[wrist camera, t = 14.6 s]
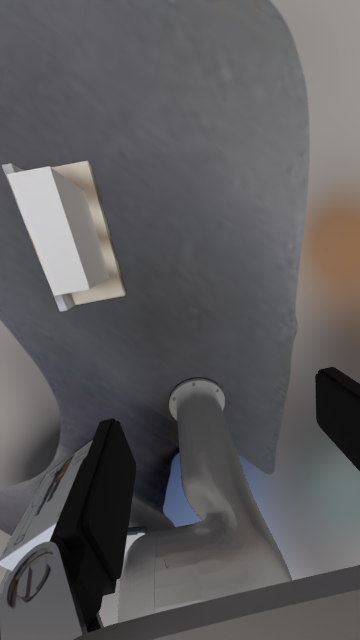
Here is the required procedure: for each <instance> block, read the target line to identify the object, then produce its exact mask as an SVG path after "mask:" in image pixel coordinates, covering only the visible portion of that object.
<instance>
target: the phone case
mask: <svg viewBox="0 0 360 640" xmlns="http://www.w3.org/2000/svg"><path fill="white" fill-rule="evenodd" d="M145 534H147V528H146V527H133V528H128V533H127V540H126V547H125V554H124V559H125V556H126V554H127V551H128V549H129V548H130V546H131V545H132V543H133V542H134V541H135V540H136V539H137V538H139V537H140V536H142V535H145Z"/></svg>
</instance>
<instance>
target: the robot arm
mask: <svg viewBox="0 0 360 640" xmlns="http://www.w3.org/2000/svg"><path fill="white" fill-rule="evenodd" d="M315 378H316V419H317V423H318V424H319V426H320V428H321V429H322V430H323V431H324V432H325V433H326V434H327V435H328V437H329V438H330V439H331V440H332V441H333V442H334V443H335V444H336V446H337V447H338V448H339V449H340V450H341V451H342V452H343V453H344V454H345V455H346V457H347V458H348V459H349V460H350V461H351V462H352V463H353V464H354V465H355V466H356V468H357V469H358V470H359V471H360V384H359V383H357V382H356V381H354V380H353V379H351V378H350V377H348V376H347V375H345V374H344V373H342V372H341V371H339V370H338V369H336V368H334V367H330V368H325V369H321V370H319V371H318V374H316V377H315ZM224 406H225V397H224V394H223V391H222V389H221V388H220V387H219V386H218V385H217V384H216V383H215V382H213V381H211V380H208V379H203V378H195V379H190V380H187V381H184V382H183V383H181V384H179V385H178V386H177V387H176V388H175V389H174V390H173V392H172V393H171V395H170V398H169V409H170V413H171V414H172V416H173V417H174V419H175V420H177V424H178V437H179V451H180V463H181V478H182V487H183V491H184V494H185V497H186V499H187V501H188V503H189V504H190V506H191V508H192V509H193V510H194V512H195V513H196V514H197V516H198V517H199V518H200V519H201V520H202V521H200V522H196V523H194V524H190V525H185V526H179V527H174V528H169V529H164V530H159V531H155V532H151V533H147V534H145V535H142V536H140V537H139V538H137V539H136V540H135V541H134V542H133V543H132V545H131V546H130V548H129V549H128V551H127V554H126V556H125V559H124V554H125V547H126V540H127V533H128V525H129V518H130V511H131V503H132V496H133V489H134V482H135V474H136V463H135V460H134V457H133V455H132V452H131V450H130V447H129V445H128V442H127V440H126V437H125V435H124V432H123V430H122V427H121V425H120V422H119V421H115V419H114V418H112V419H108V420H104V421H101V422H100V423H99V426H98V428H97V431H96V433H95V436H94V438H93V441H92V444H91V446H90V449H89V451H88V454H87V456H86V457H85V458H84V459H83V461H82V463H81V465H80V467H79V470H78V472H77V475H76V477H75V479H74V482H73V484H72V487H71V489H70V492H69V494H68V497H67V499H66V502H65V504H64V507H63V509H62V511H61V514H60V516H59V519H58V521H57V524H56V526H55V529H54V531H53V534H52V536H51V538H50V541H48V542H43V543H41V544H39V545H37V546H35V547H34V548H33V549H31V550H30V551H29V552H28V553H27V554H26V555H25V556H24V557H23V558H22V559H21V560H20V561H19V562H18V564H17V565H16V566H15V568H14V569H13V571H12V572H11V574H10V576H9V578H8V579H7V581H6V583H5V586H4V588H3V591H2V594H1V599H0V640H360V565H358V566H354V567H349V568H345V569H341V570H337V571H332V572H328V573H324V574H319V575H315V576H311V577H306V578H302V579H298V580H293V581H292V578H291V575H290V572H289V570H288V567H287V565H286V563H285V561H284V558H283V556H282V554H281V552H280V550H279V548H278V546H277V544H276V542H275V540H274V538H273V536H272V534H271V532H270V530H269V528H268V526H267V525H266V522H265V520H264V518H263V516H262V514H261V512H260V510H259V508H258V506H257V503H256V501H255V499H254V496H253V494H252V492H251V489H250V487H249V484H248V481H247V479H246V476H245V474H244V471H243V468H242V465H241V462H240V459H239V457H238V454H237V451H236V448H235V445H234V443H233V440H232V437H231V434H230V431H229V428H228V426H227V423H226V420H225V417H224V414H223V412H222V411H223V409H224ZM123 562H124V563H123ZM120 577H121V579H120V590H119V608H118V623H117V624H113V625H109V626H107V627H104V626H103V624H102V621H101V618H100V615H99V610H100V608H101V603H102V597H103V596H104V595H108V594H112V593H115V587H116V580H117V579H119V578H120Z"/></svg>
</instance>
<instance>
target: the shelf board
mask: <svg viewBox="0 0 360 640" xmlns="http://www.w3.org/2000/svg"><path fill="white" fill-rule="evenodd" d="M2 167H3V170H4V172H5V175H6V177H7V174H10V173H16V172H21V171H24V170H22V169H20V168H18V167H16V166H15V165H13V164H6V165H2ZM52 168H53V169H54V170H55V171H57V172H58V173H60V174H61V175H62V176H64V177H65V178H67V179H68V180H69V181H71V182H72V183H74V184H75V185H77V186H78V187H79V188H81V189H82V190H84V191H85V194H86V198H87V201H88V205H89V208H90V211H91V215H92V218H93V222H94V225H95V229H96V232H97V236H98V239H99V243H100V246H101V250H102V253H103V257H104V260H105V264H106V267H107V271H108V274H109V279H107V280H105V281H103V282H102V283H100V284H98V285H96V286H95V287H93V288H91V289H88V290H83V291H77V292H72V293H67V294H61V295H56V296H54V298H55V300H56V303H57V305H58V308H59V310H60V312H61V311H66V310H69V309H70V308H72V307H73V306H75V305H78V304H83V303H89V302H94V301H99V300H104V299H109V298H114V297H120V296H125V295H126V291H125V287H124V284H123V280H122V276H121V273H120V269H119V265H118V262H117V258H116V254H115V251H114V247H113V244H112V240H111V236H110V233H109V229H108V225H107V222H106V218H105V214H104V211H103V207H102V203H101V200H100V196H99V192H98V189H97V185H96V181H95V178H94V174H93V171H92V167H91V164H90V163H89V162H88V161H84V162H78V163H73V164H68V165H62V166H57V167H52ZM7 180H8V182H9V179H8V177H7ZM9 185H10V182H9ZM10 187H11V185H10ZM11 190H12V187H11ZM12 192H13V190H12ZM13 195H14V192H13ZM14 197H15V195H14ZM15 200H16V197H15ZM16 202H17V200H16ZM17 205H18V202H17ZM18 207H19V205H18ZM19 210H20V208H19ZM20 212H21V210H20ZM21 215H22V213H21ZM22 217H23V215H22ZM23 220H24V218H23ZM24 222H25V220H24ZM25 225H26V223H25ZM26 227H27V225H26ZM27 230H28V228H27ZM28 232H29V231H28ZM28 234H29V236H30V233H28ZM30 239H31V241H32V238H31V236H30ZM32 244H33V246H34V243H33V241H32ZM34 249H35V251H36V248H35V246H34ZM36 254H37V251H36ZM37 256H38V254H37ZM38 259H39V256H38ZM39 261H40V259H39ZM40 262H41V261H40ZM41 265H42V264H41ZM42 267H43V266H42ZM43 270H44V269H43ZM44 272H45V271H44ZM45 275H46V274H45ZM47 280H48V279H47ZM49 285H50V284H49ZM51 290H52V289H51ZM52 293H53V292H52ZM53 295H54V294H53Z"/></svg>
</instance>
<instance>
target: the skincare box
mask: <svg viewBox="0 0 360 640" xmlns="http://www.w3.org/2000/svg"><path fill="white" fill-rule="evenodd" d="M92 441H93V440H92ZM92 441H90V442H89V443H88V444H86V445H85V446H84V447H82V448H81V449H80V450H78V451H77V452H75V453H74V454H73V455H71V456H70V457H69V458H67V459H66V460H65V461H63V462H62V463H61V464H59V465H58V466H57V467H55V468H54V469H53V470H51V471H50V472H49V473H47V474H46V476H45V478H44V480H43V481H42V483H41V485H40V487H39V488H38V490H37V492H36V494H35V496H34V497H33V499H32V501H31V503H30V505H29V506H28V508H27V510H26V512H25V514H24V515H23V517H22V519H21V521H20V522H19V524H18V526H17V528H16V530H15V531H14V533H13V535H12V537H11V539H10V541H9V542H8V544H7V546H6V548H5V549H4V551H3V553H2V555H1V557H0V566H2V567H4V568H6V569H8V570H11V571H13V569H14V568H15V566H16V565H17V564H18V562H19V561H20V560H21V559H22V558H23V557H24V556H25V555H26V554H27V553H28V552H29V551H30V550H31V549H33V548H34V547H35V546H37V545H39V544H41V543H43V542H48V541H50V538H51V536H52V534H53V531H54V529H55V526H56V524H57V521H58V519H59V516H60V514H61V511H62V509H63V507H64V504H65V502H66V499H67V497H68V494H69V492H70V489H71V487H72V484H73V482H74V479H75V477H76V475H77V472H78V470H79V467H80V465H81V463H82V461H83V459H84V458H85V457H86V456H87V454H88V451H89V449H90V446H91V444H92Z"/></svg>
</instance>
